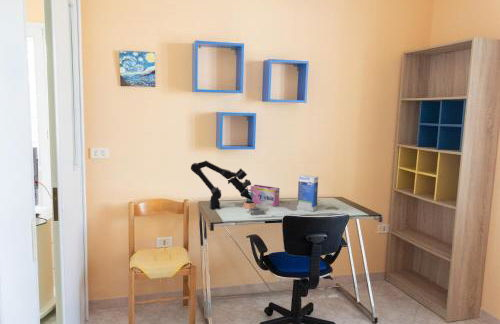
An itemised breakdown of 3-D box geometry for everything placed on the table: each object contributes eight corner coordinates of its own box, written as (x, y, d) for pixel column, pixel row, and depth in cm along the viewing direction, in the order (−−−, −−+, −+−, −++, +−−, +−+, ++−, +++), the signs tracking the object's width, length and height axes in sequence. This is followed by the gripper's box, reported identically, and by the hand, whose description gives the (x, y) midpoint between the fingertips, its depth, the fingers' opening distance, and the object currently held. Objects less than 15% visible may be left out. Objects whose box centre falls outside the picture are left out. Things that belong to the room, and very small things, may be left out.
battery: (249, 207, 294) (250, 190, 292) (245, 206, 297) (245, 189, 295) (253, 206, 297) (254, 189, 295) (249, 205, 300) (249, 188, 298)
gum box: (248, 202, 319) (248, 185, 317) (253, 200, 325) (253, 184, 324) (274, 206, 306) (275, 189, 305) (279, 204, 313) (279, 188, 311)
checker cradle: (251, 216, 275) (252, 212, 274) (246, 212, 285) (246, 208, 285) (266, 215, 279) (266, 210, 278) (260, 211, 289) (260, 207, 289)
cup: (246, 210, 292) (246, 203, 291) (242, 207, 299) (242, 201, 299) (256, 209, 295) (256, 203, 294) (252, 207, 302) (252, 200, 302)
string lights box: (317, 209, 300) (318, 176, 296) (312, 211, 294) (314, 177, 290) (301, 207, 307) (302, 174, 304) (296, 208, 301) (298, 175, 297)
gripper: (245, 178, 284) (260, 194, 286) (244, 174, 303) (258, 188, 305) (234, 189, 285) (249, 204, 287) (234, 184, 303) (247, 198, 305)
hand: (251, 198), depth 296 cm, fingers closed on battery, 4 cm apart
